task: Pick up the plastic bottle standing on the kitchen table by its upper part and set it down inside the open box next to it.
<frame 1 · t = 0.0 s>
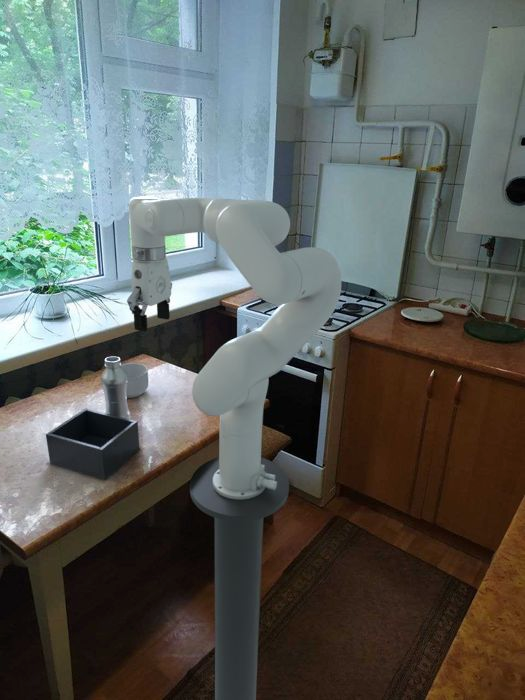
hand: (152, 324, 119), 30 cm above the table, tool pointing down, fingers open, 9 cm apart
plastic bottle: (118, 428, 132), on the table
teacup: (129, 392, 152), on the table
open box: (96, 456, 120), on the table
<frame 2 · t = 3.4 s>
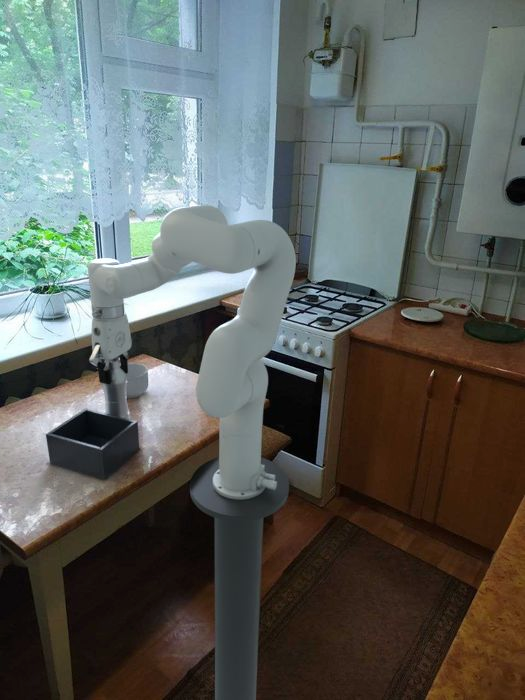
hand: (114, 377, 127), 15 cm above the table, tool pointing down, fingers closed on plastic bottle, 6 cm apart
plastic bottle: (118, 428, 132), on the table, touching gripper
everything else where it was.
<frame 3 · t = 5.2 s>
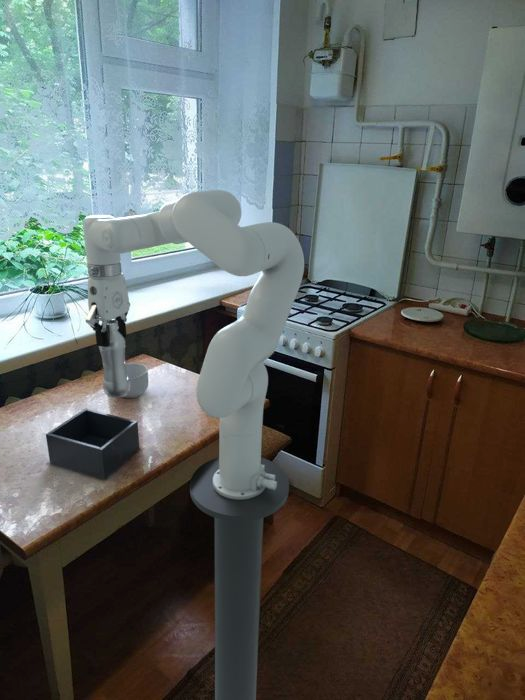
hand: (112, 340, 123), 25 cm above the table, tool pointing down, fingers closed on plastic bottle, 6 cm apart
plastic bottle: (117, 395, 128), point 10 cm above the table, touching gripper
everything else where it was.
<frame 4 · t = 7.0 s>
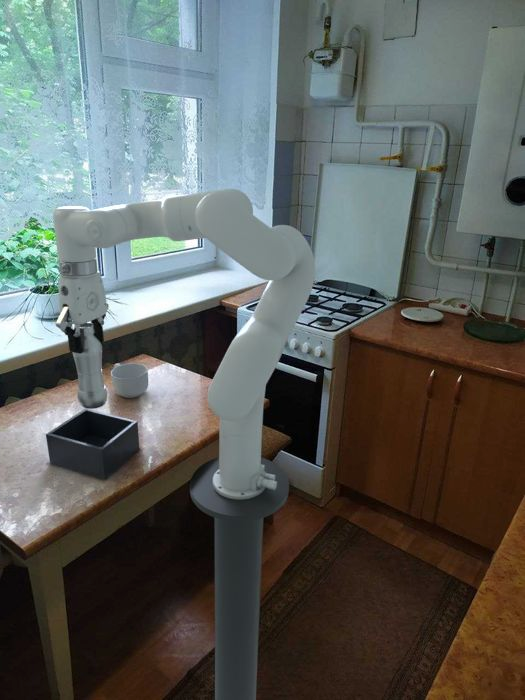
hand: (87, 346, 111), 28 cm above the table, tool pointing down, fingers closed on plastic bottle, 6 cm apart
plastic bottle: (93, 406, 116), point 13 cm above the table, touching gripper
everything else where it was.
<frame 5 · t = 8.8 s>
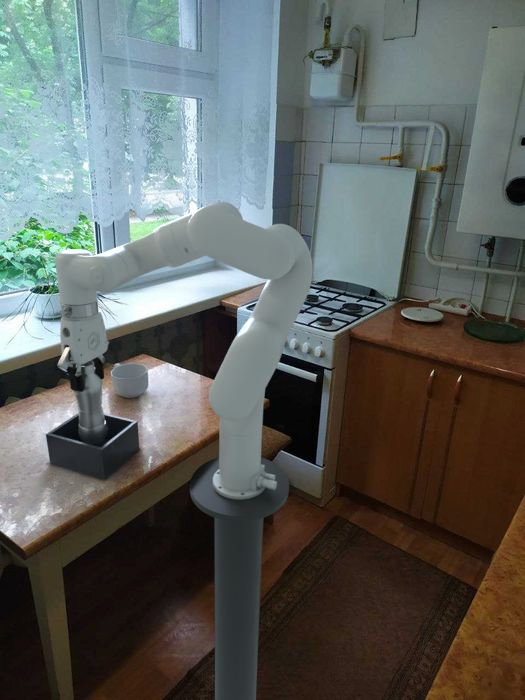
hand: (88, 383, 113), 20 cm above the table, tool pointing down, fingers closed on plastic bottle, 6 cm apart
plastic bottle: (94, 440, 118), point 4 cm above the table, touching gripper
everything else where it was.
when the fingers open (16 cm above the table, at t = 10.4 s): plastic bottle stays where it is, resting on open box.
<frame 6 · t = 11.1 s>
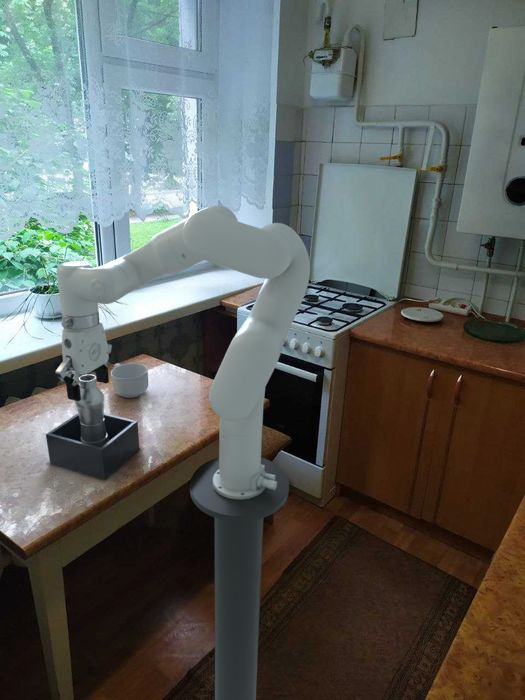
hand: (89, 390, 113), 18 cm above the table, tool pointing down, fingers open, 9 cm apart
plastic bottle: (96, 453, 120), point 1 cm above the table, touching open box
everything else where it was.
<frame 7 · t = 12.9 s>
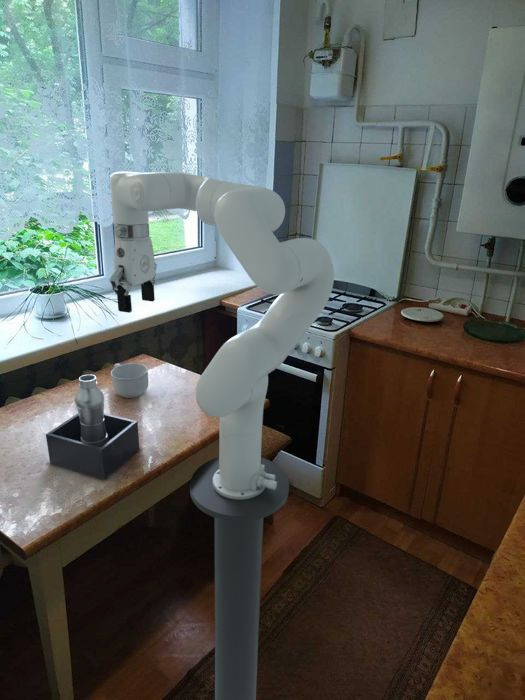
hand: (137, 305, 115), 35 cm above the table, tool pointing down, fingers open, 9 cm apart
nothing on the table moved.
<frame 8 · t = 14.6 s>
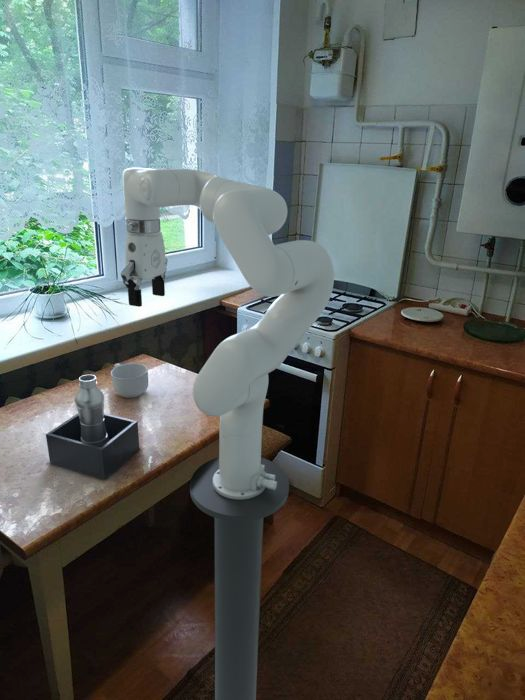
hand: (147, 300, 117), 36 cm above the table, tool pointing down, fingers open, 9 cm apart
nothing on the table moved.
at the end: plastic bottle inside the target area in the open box (0.0 cm from its centre), point 0.8 cm above the open box's base; the gripper is holding nothing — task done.
